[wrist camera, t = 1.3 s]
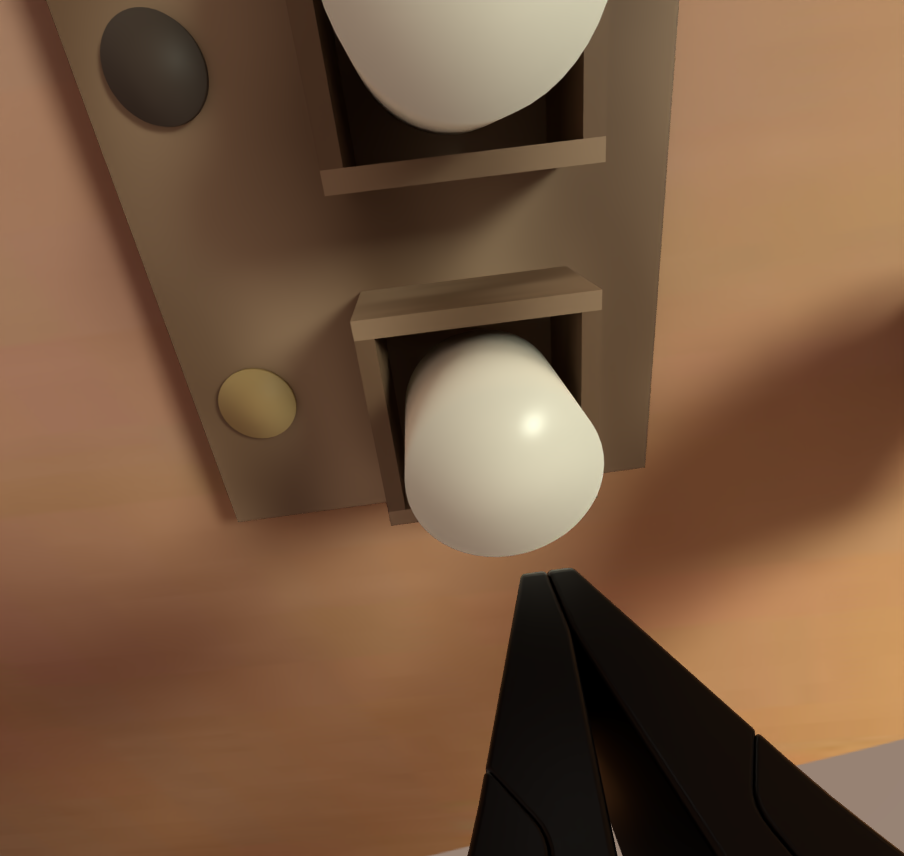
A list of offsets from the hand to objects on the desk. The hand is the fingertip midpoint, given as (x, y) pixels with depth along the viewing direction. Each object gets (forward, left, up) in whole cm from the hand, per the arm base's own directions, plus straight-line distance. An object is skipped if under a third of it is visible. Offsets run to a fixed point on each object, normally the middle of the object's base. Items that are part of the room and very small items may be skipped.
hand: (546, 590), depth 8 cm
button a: (0, 0, -7) cm, 7 cm away
